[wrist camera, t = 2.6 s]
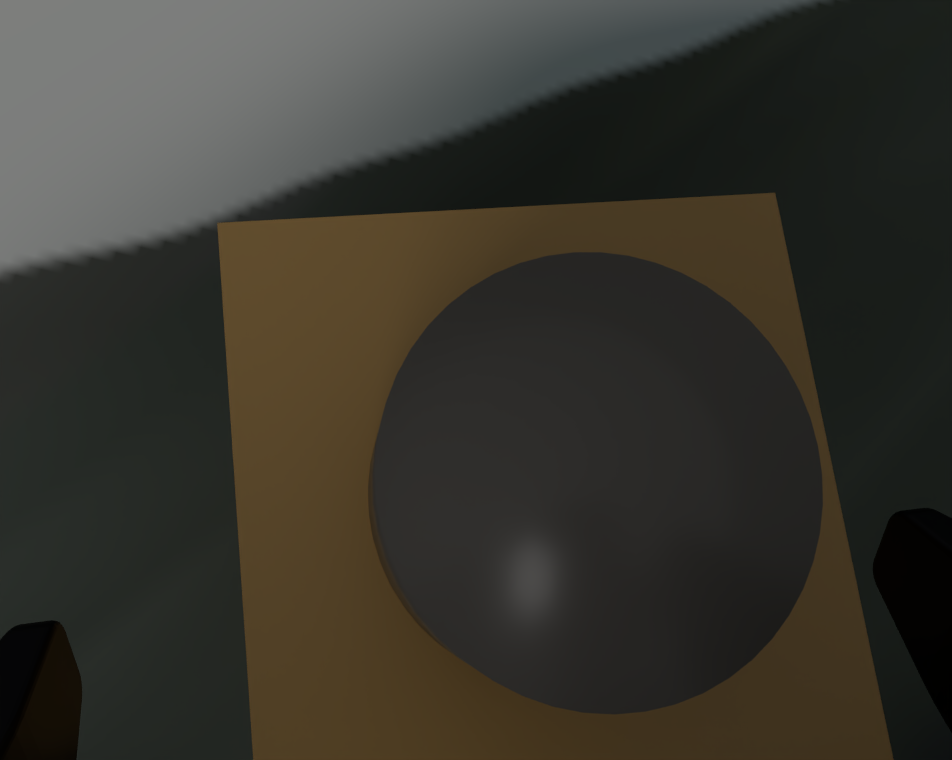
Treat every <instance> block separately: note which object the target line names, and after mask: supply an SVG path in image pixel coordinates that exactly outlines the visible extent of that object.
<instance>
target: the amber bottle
mask: <svg viewBox="0 0 952 760" xmlns="http://www.w3.org/2000/svg"><path fill="white" fill-rule="evenodd" d="M217 224H218V239H219V254H220V269H221V284H222V299H223V314H224V328H225V343H226V358H227V373H228V388H229V403H230V418H231V433H232V448H233V463H234V478H235V493H236V507H237V522H238V537H239V552H240V567H241V582H242V597H243V612H244V627H245V642H246V657H247V672H248V686H249V701H250V716H251V731H252V746H253V760H893V755H892V750H891V745H890V741H889V736H888V731H887V726H886V721H885V717H884V712H883V707H882V702H881V698H880V693H879V688H878V683H877V678H876V674H875V669H874V664H873V659H872V654H871V650H870V645H869V640H868V635H867V631H866V626H865V621H864V616H863V611H862V607H861V602H860V597H859V592H858V587H857V583H856V578H855V573H854V568H853V564H852V559H851V554H850V549H849V544H848V540H847V535H846V530H845V525H844V520H843V516H842V511H841V506H840V501H839V496H838V492H837V487H836V482H835V477H834V473H833V468H832V463H831V458H830V453H829V449H828V444H827V439H826V434H825V429H824V425H823V420H822V415H821V410H820V406H819V401H818V396H817V391H816V386H815V382H814V377H813V372H812V367H811V362H810V358H809V353H808V348H807V343H806V339H805V334H804V329H803V324H802V319H801V315H800V310H799V305H798V300H797V295H796V291H795V286H794V281H793V276H792V271H791V267H790V262H789V257H788V252H787V248H786V243H785V238H784V233H783V228H782V224H781V219H780V214H779V209H778V204H777V200H776V195H775V193H762V194H744V195H725V196H707V197H688V198H670V199H651V200H633V201H614V202H596V203H577V204H559V205H540V206H522V207H503V208H485V209H466V210H448V211H430V212H411V213H393V214H374V215H356V216H337V217H319V218H300V219H282V220H263V221H245V222H226V223H217Z"/></svg>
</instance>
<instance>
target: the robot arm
mask: <svg viewBox="0 0 952 760" xmlns="http://www.w3.org/2000/svg"><path fill="white" fill-rule="evenodd" d="M873 575H874V579H875V582H876V585H877V587H878V589H879V591H880V593H881V595H882V598H883V600H884V602H885V604H886V606H887V608H888V610H889V612H890V614H891V616H892V618H893V620H894V622H895V624H896V627H897V629H898V631H899V633H900V635H901V637H902V639H903V641H904V643H905V645H906V647H907V649H908V651H909V653H910V655H911V658H912V660H913V662H914V664H915V666H916V668H917V670H918V672H919V674H920V676H921V678H922V680H923V682H924V684H925V686H926V688H927V690H928V692H929V694H930V696H931V698H932V700H933V702H934V703H935V705H936V707H937V709H938V710H939V712H940V714H941V716H942V717H943V719H944V721H945V722H946V724H947V726H948V727H949V729H950V731H951V732H952V518H950V517H948V516H946V515H944V514H942V513H940V512H938V511H936V510H934V509H930V508H920V509H912V510H904V511H899V512H896V513H895V514H893V515H892V516H891V517H890V519H889V521H888V524H887V526H886V529H885V532H884V534H883V537H882V540H881V542H880V545H879V548H878V550H877V553H876V556H875V558H874V562H873ZM81 703H82V683H81V676H80V673H79V670H78V667H77V664H76V661H75V658H74V655H73V652H72V649H71V646H70V643H69V641H68V638H67V635H66V632H65V630H64V627H63V626H62V625H61V624H60V622H58V621H53V620H51V621H44V622H36V623H28V624H21V625H17V626H15V627H13V628H12V629H10V630H9V631H8V632H7V633H6V634H5V635H4V636H3V637H2V638H1V639H0V760H76V758H77V747H78V736H79V725H80V714H81Z"/></svg>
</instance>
